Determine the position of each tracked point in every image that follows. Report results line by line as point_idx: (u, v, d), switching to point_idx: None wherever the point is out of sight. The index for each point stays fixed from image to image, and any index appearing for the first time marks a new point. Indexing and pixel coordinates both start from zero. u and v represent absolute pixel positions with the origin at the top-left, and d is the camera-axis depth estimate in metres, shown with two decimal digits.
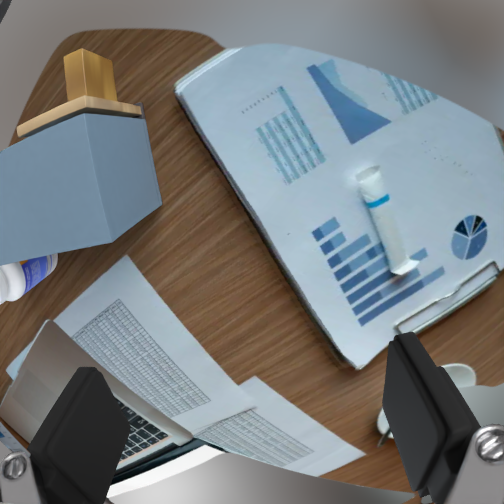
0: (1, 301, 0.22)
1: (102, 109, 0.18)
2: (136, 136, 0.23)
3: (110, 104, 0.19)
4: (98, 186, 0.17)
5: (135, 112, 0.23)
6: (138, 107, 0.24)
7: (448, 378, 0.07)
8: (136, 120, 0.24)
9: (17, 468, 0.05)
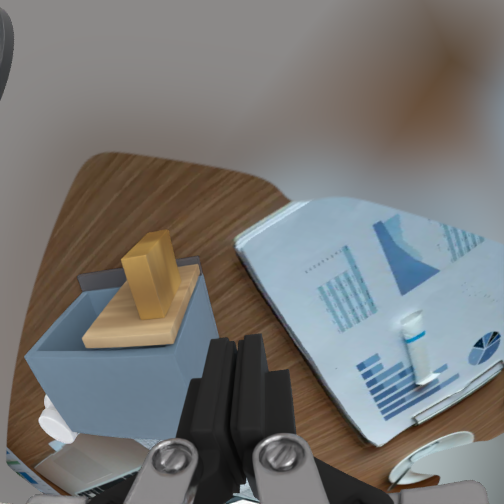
0: (73, 440, 0.23)
1: (180, 321, 0.19)
2: (202, 307, 0.25)
3: (184, 306, 0.20)
4: None
5: (197, 279, 0.25)
6: (197, 268, 0.25)
7: (287, 381, 0.08)
8: (199, 288, 0.25)
9: (173, 458, 0.06)
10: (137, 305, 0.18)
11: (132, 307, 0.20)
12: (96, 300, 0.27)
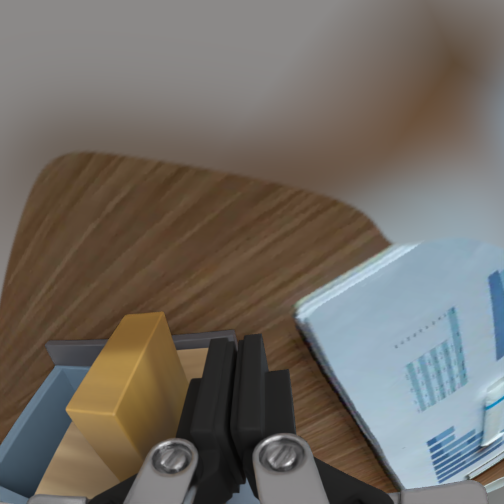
0: None
1: None
2: None
3: None
4: None
5: None
6: None
7: (287, 381, 0.08)
8: None
9: (173, 458, 0.06)
10: (115, 473, 0.07)
11: None
12: (76, 380, 0.17)
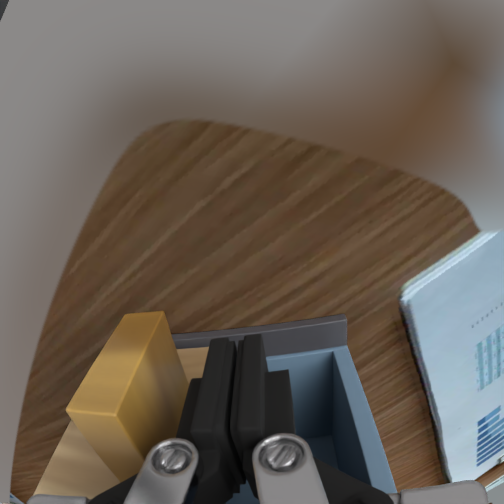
0: None
1: None
2: None
3: None
4: None
5: None
6: None
7: (287, 381, 0.08)
8: (355, 371, 0.14)
9: (174, 459, 0.06)
10: (115, 473, 0.07)
11: None
12: None
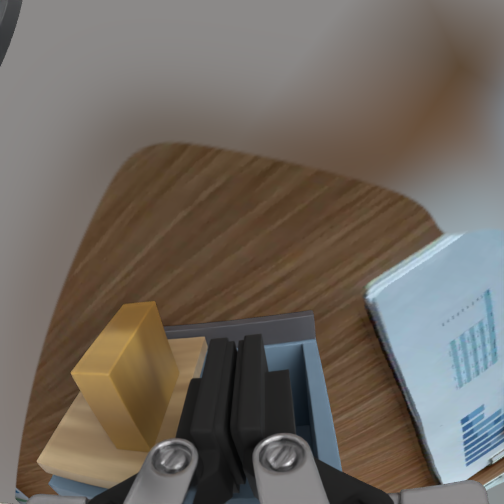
0: None
1: None
2: None
3: None
4: None
5: (203, 361, 0.16)
6: (203, 344, 0.17)
7: (287, 381, 0.08)
8: (320, 361, 0.16)
9: (173, 458, 0.06)
10: (108, 433, 0.10)
11: None
12: None
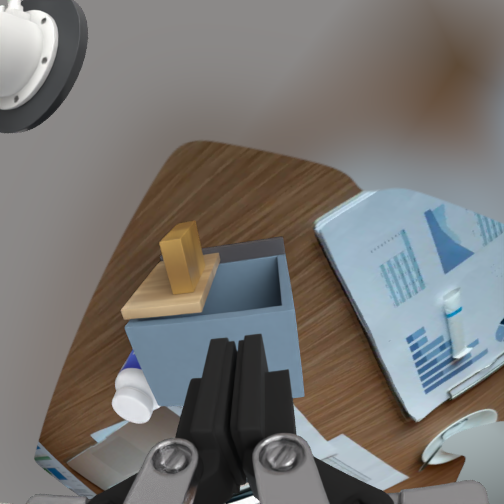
0: (148, 419, 0.27)
1: (206, 296, 0.23)
2: None
3: (209, 284, 0.24)
4: (300, 363, 0.22)
5: None
6: (218, 256, 0.30)
7: (287, 381, 0.08)
8: (286, 263, 0.28)
9: (173, 458, 0.06)
10: (171, 281, 0.22)
11: (164, 286, 0.24)
12: None
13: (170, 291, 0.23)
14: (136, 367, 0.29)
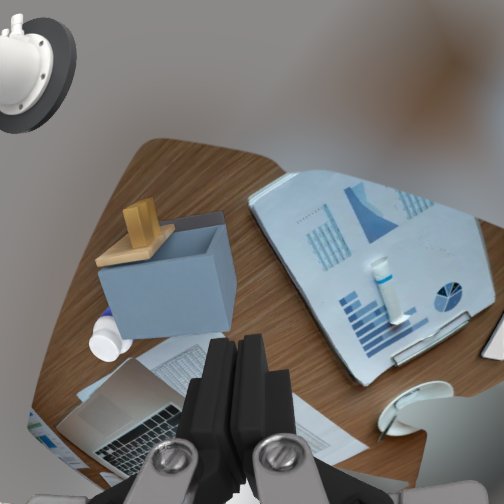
0: None
1: (156, 250, 0.31)
2: (225, 243, 0.36)
3: (159, 242, 0.32)
4: (223, 300, 0.30)
5: (172, 232, 0.37)
6: (173, 226, 0.38)
7: (287, 381, 0.08)
8: (223, 230, 0.37)
9: (173, 459, 0.06)
10: (130, 238, 0.30)
11: (128, 244, 0.32)
12: None
13: (131, 247, 0.31)
14: (110, 315, 0.36)
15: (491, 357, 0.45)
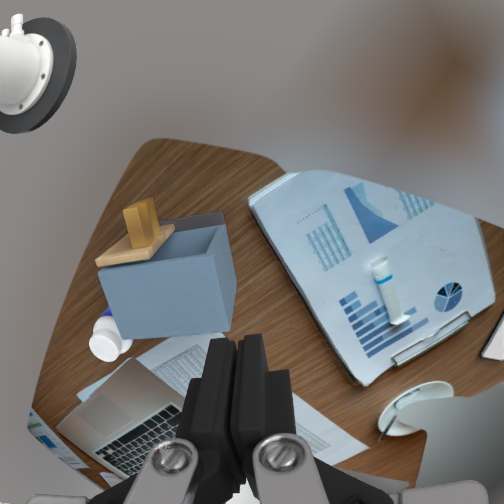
0: None
1: (156, 250, 0.31)
2: (225, 243, 0.36)
3: (159, 242, 0.32)
4: (223, 300, 0.30)
5: (172, 232, 0.37)
6: (173, 226, 0.38)
7: (287, 381, 0.08)
8: (223, 230, 0.37)
9: (173, 459, 0.06)
10: (130, 238, 0.30)
11: (128, 244, 0.32)
12: None
13: (131, 247, 0.31)
14: (110, 315, 0.36)
15: (491, 357, 0.45)
